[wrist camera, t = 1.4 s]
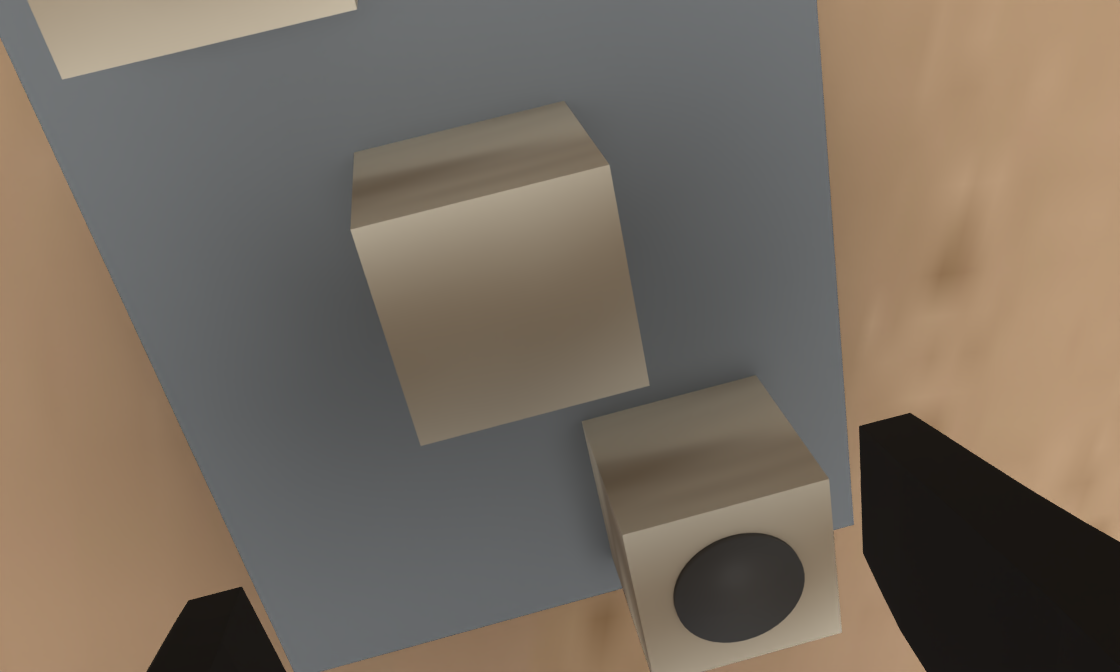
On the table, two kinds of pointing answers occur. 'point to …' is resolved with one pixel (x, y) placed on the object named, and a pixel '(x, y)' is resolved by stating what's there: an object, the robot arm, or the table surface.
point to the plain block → (497, 270)
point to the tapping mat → (349, 311)
